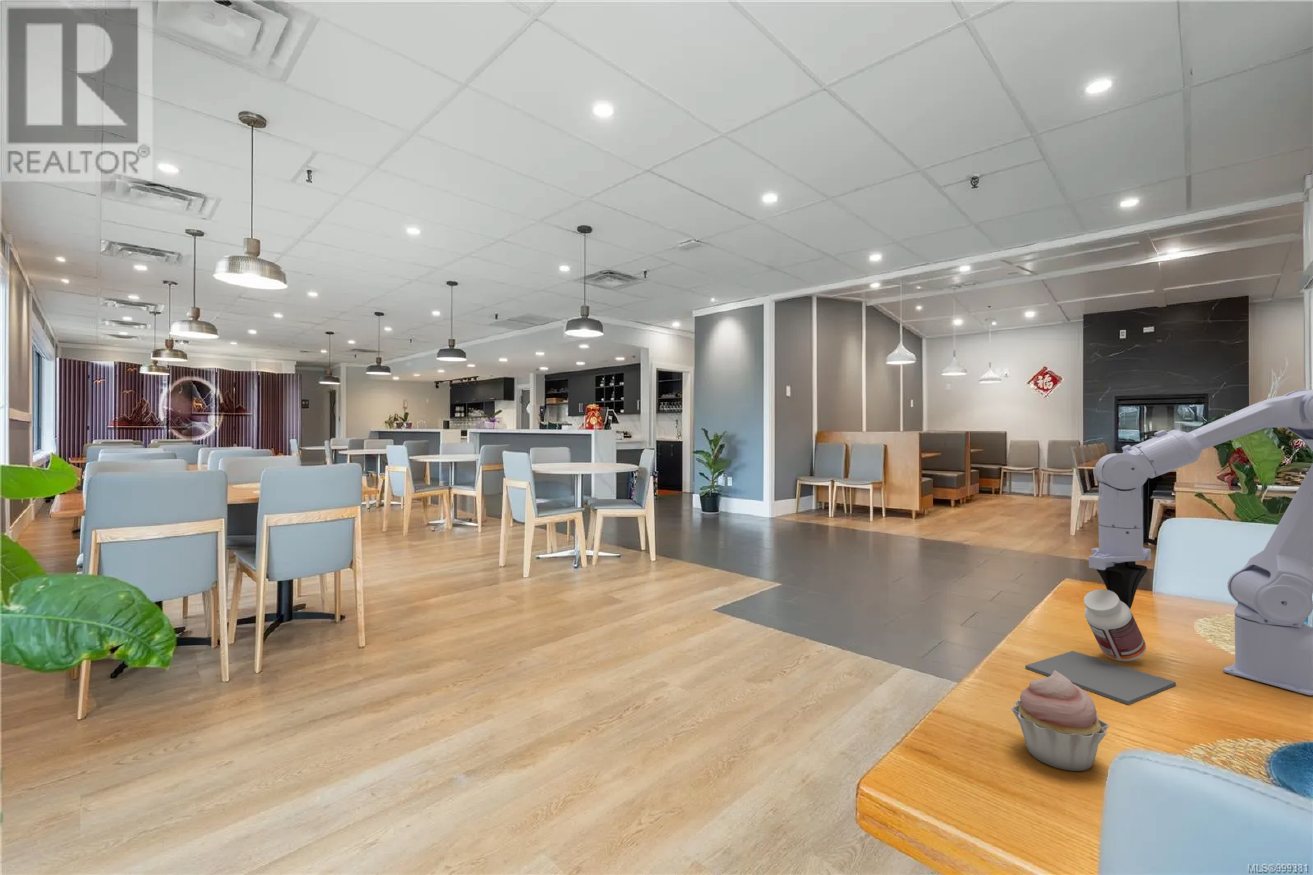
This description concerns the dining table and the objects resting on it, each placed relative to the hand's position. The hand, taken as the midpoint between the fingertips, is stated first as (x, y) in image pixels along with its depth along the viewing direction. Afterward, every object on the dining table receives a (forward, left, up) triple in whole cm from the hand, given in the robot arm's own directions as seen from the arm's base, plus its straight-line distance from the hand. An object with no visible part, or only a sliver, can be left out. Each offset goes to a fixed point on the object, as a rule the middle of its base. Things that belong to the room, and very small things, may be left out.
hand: (1121, 607), depth 95 cm
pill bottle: (0, 0, -7) cm, 7 cm away
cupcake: (-12, +39, -9) cm, 42 cm away
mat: (-2, +11, -8) cm, 14 cm away
